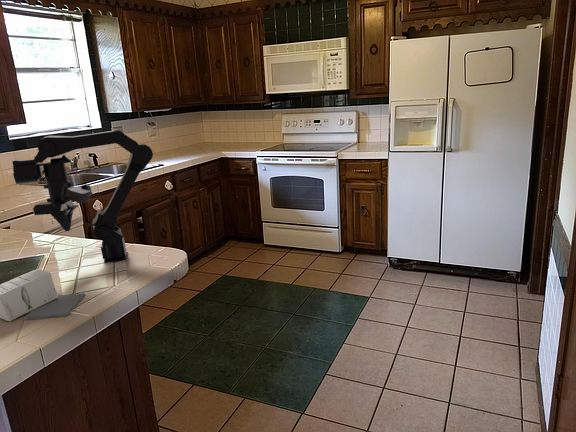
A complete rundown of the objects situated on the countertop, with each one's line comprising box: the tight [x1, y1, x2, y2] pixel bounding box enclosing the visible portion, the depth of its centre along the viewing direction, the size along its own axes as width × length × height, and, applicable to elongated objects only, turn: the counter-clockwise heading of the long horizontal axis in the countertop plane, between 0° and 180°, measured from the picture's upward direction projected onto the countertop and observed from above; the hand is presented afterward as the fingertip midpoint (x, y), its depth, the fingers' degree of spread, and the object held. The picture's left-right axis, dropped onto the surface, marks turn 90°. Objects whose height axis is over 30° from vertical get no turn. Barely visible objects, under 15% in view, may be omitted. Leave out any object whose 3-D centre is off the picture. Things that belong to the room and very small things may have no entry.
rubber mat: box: [24, 292, 86, 321], centre depth 110 cm, size 11×10×1 cm
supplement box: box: [0, 268, 59, 322], centre depth 110 cm, size 7×7×13 cm
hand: (67, 230), depth 132 cm, fingers closed
